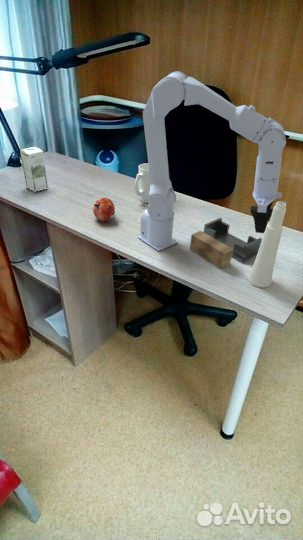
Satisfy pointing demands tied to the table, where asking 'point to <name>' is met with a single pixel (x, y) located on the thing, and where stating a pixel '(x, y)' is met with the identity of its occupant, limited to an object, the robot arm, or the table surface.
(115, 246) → the table surface
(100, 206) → the pomegranate
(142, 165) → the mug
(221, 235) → the brackets
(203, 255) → the brown wooden block
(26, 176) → the syrup box
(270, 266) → the cosmetic bottle
